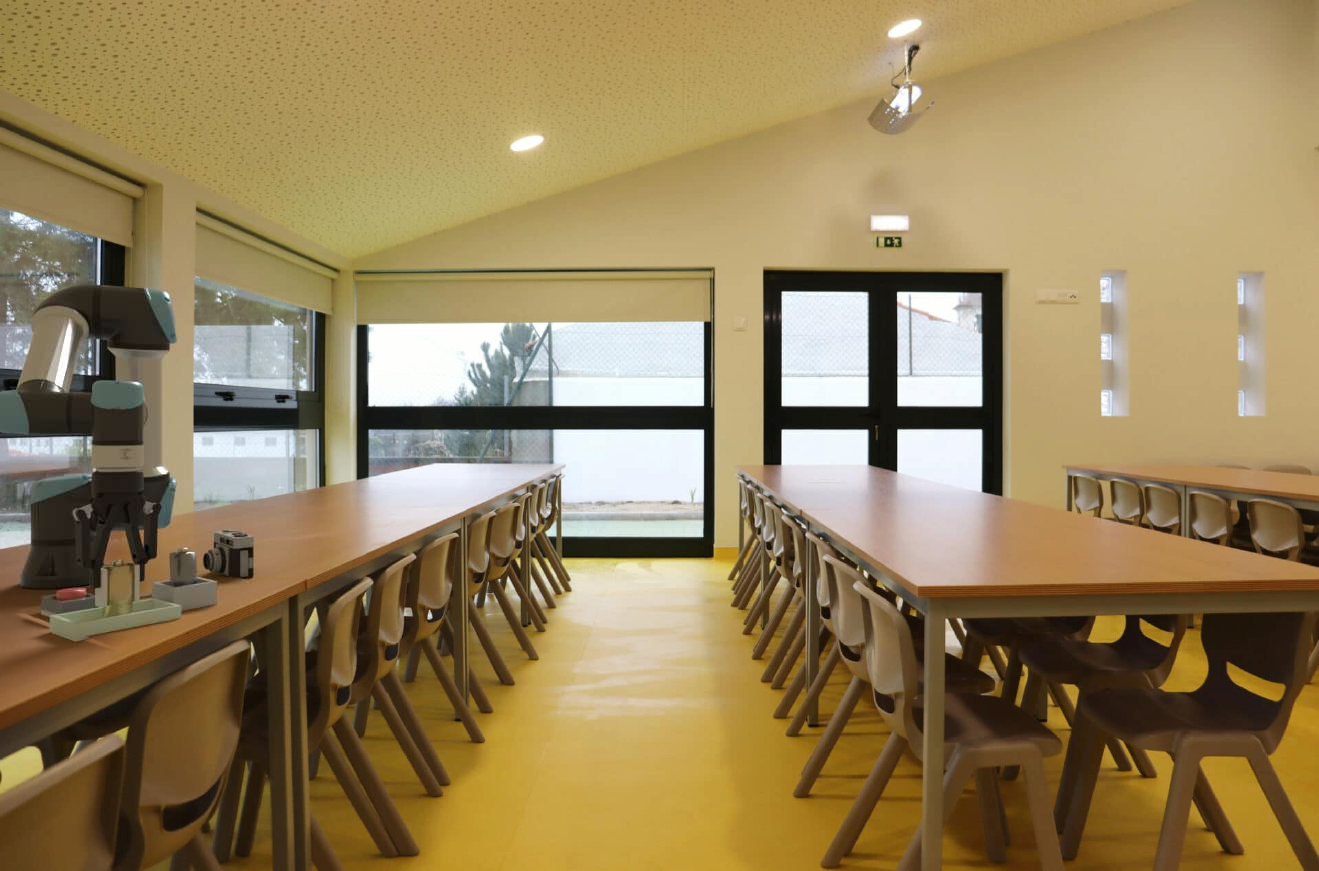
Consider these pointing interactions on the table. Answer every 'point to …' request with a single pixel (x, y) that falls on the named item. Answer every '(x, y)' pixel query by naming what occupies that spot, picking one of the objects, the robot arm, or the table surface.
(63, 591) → the button
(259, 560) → the table surface
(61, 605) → the button housing
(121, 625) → the trough
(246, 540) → the camera
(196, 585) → the bin
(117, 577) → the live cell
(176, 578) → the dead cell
